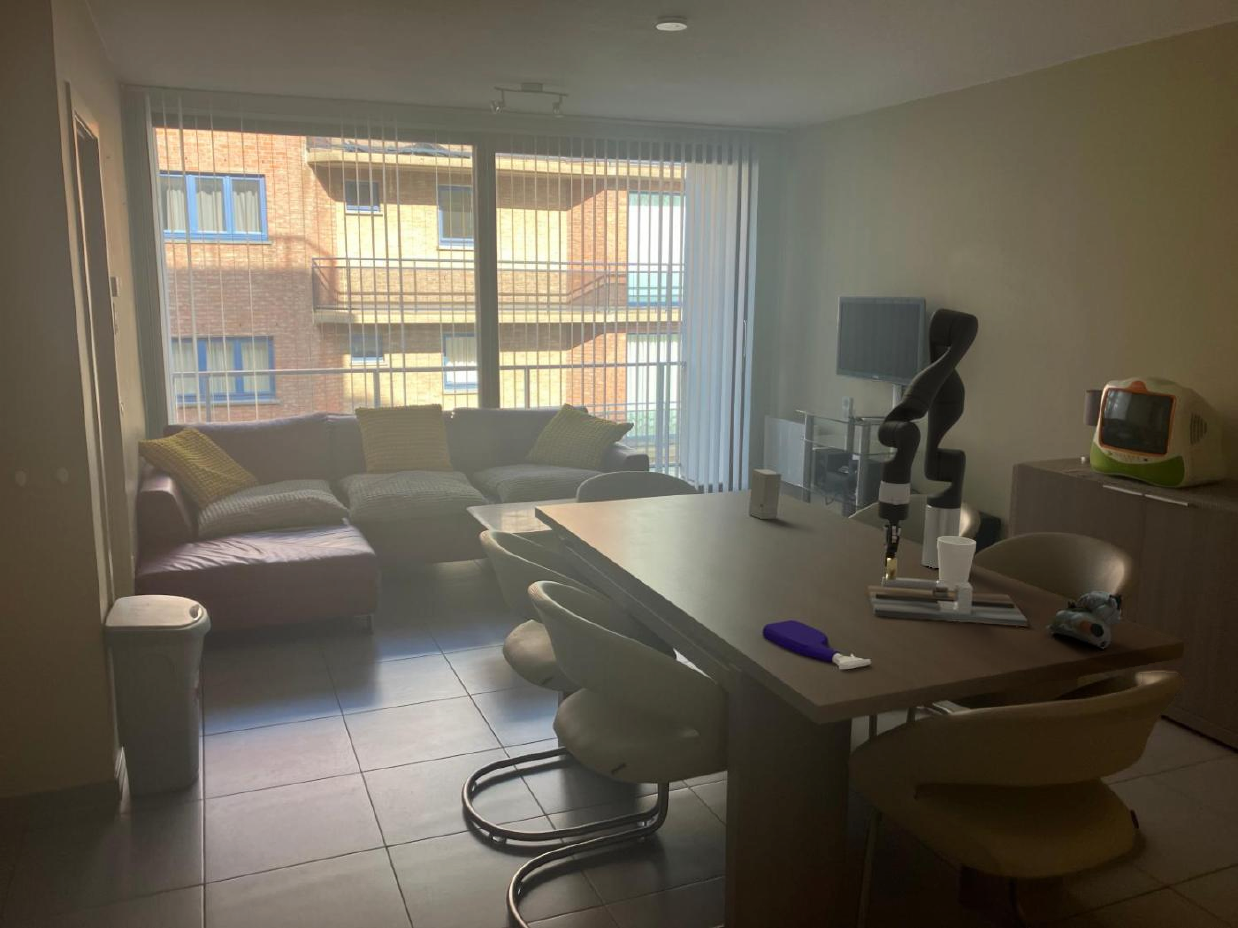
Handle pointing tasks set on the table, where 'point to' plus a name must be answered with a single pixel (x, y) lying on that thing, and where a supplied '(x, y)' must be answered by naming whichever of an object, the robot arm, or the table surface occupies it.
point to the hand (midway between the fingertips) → (889, 566)
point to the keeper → (958, 600)
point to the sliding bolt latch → (925, 601)
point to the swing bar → (910, 580)
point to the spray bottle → (808, 643)
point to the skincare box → (764, 494)
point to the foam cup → (955, 559)
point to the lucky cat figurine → (1089, 618)
